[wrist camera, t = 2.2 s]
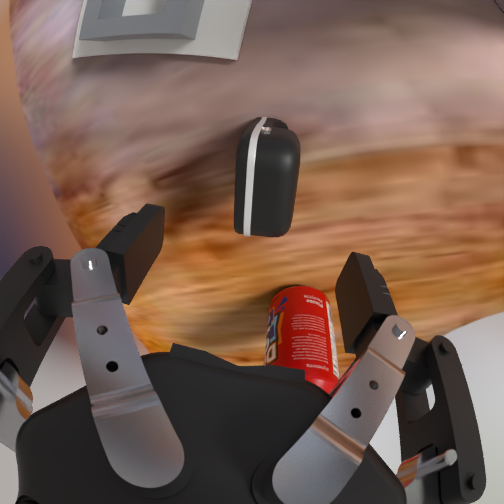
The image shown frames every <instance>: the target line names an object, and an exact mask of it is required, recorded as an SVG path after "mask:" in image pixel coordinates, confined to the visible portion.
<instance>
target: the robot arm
mask: <svg viewBox="0 0 504 504" xmlns="http://www.w3.org/2000/svg"><path fill="white" fill-rule="evenodd" d="M495 1H496V3H497V4H498V5H499V7H500V8H501V9H502V11H503V12H504V0H495ZM164 216H165V209H164V207H162V206H157V205H152V204H145V206H144V207H143V208H142V209H141V210H140V211H139V212H138V213H134V212H133V213H131V214H129V215H127V216H125V217H123V218H122V219H121V220H120V221H119V222H118V223H117V225H115V227H114V228H113V229H112V231H110V232H109V233H108V234H107V235H106V236H105V237H104V239H103V240H102V241H101V242H100V243H99V244H98V245H97V246H96V248H87V249H83V250H81V251H79V252H77V253H76V254H75V255H74V256H73V257H72V259H71V260H62V259H60V260H59V259H54V258H53V255H52V251H51V250H50V249H49V248H48V247H44V246H38V247H34V248H31V249H29V250H28V251H26V252H25V253H24V254H23V255H22V256H21V257H20V258H19V259H18V260H17V262H16V263H15V264H14V265H13V266H12V267H11V269H10V270H9V271H8V272H7V273H6V274H5V275H4V277H3V278H2V279H1V281H0V442H1V443H2V444H4V445H5V446H7V447H8V448H10V449H11V450H13V451H14V452H16V458H17V465H18V474H19V475H18V476H19V492H18V497H17V501H16V503H15V504H470V503H473V502H475V501H477V500H478V499H479V498H480V497H481V496H482V494H483V492H484V490H485V486H486V474H485V465H484V458H483V451H482V445H481V440H480V434H479V429H478V424H477V420H476V416H475V411H474V407H473V403H472V400H471V396H470V392H469V388H468V385H467V381H466V378H465V375H464V372H463V369H462V366H461V362H460V360H459V357H458V354H457V351H456V348H455V347H454V345H453V344H452V343H451V342H450V341H449V340H448V339H447V338H445V337H443V336H440V335H438V336H435V337H434V338H433V339H432V340H431V341H430V342H429V343H428V342H426V341H423V340H421V339H419V338H417V337H416V335H415V331H414V329H413V327H412V326H411V324H410V323H409V322H408V321H407V320H405V319H404V318H402V317H400V316H398V314H397V312H396V309H395V306H394V303H393V301H392V298H391V295H389V294H390V293H389V290H388V288H387V285H386V283H385V280H384V278H383V276H382V275H381V274H380V273H379V272H378V270H377V269H374V266H373V264H372V261H371V259H370V257H369V256H368V255H364V254H360V253H356V252H352V253H351V254H350V255H349V257H348V259H347V261H346V263H345V266H344V268H343V270H342V272H341V274H340V276H339V278H338V280H337V283H336V288H335V294H336V299H337V305H338V311H339V316H340V322H341V328H342V335H343V341H344V348H345V353H353V354H356V358H355V360H354V361H353V362H352V363H351V365H350V366H349V367H348V369H347V370H346V371H345V373H344V374H343V375H342V377H341V378H340V379H339V381H338V382H337V383H336V384H335V386H334V387H333V388H332V389H331V391H330V392H329V393H327V392H326V391H324V390H323V389H322V388H320V387H319V386H317V385H316V384H314V383H312V382H310V381H307V380H305V370H302V369H295V368H289V367H282V366H276V365H266V366H237V365H234V364H232V363H230V362H228V361H225V360H223V359H221V358H219V357H217V356H215V355H212V354H210V353H208V352H206V351H203V350H198V349H194V348H190V347H187V346H183V345H179V344H175V343H173V345H172V348H171V350H170V352H156V353H150V354H147V355H142V356H140V354H139V352H138V349H137V346H136V343H135V341H134V338H133V335H132V332H131V329H130V326H129V323H128V320H127V317H126V314H125V310H124V307H123V304H122V303H124V304H127V305H129V304H130V303H131V301H132V299H133V297H134V295H135V294H136V292H137V290H138V288H139V287H140V285H141V283H142V281H143V280H144V278H145V276H146V275H147V273H148V271H149V269H150V268H151V266H152V264H153V263H154V261H155V259H156V258H157V256H158V254H159V253H160V251H161V248H162V244H163V236H164ZM33 300H34V303H35V304H34V305H33V307H32V308H31V310H30V311H29V313H28V314H27V316H26V317H25V319H24V315H25V312H26V310H27V309H28V307H29V306H30V304H31V303H32V301H33ZM66 317H73V320H74V326H75V333H76V339H77V345H78V350H79V355H80V360H81V365H82V369H83V374H84V378H85V382H86V386H84V387H82V388H80V389H79V390H77V391H75V392H73V393H71V394H69V395H67V396H65V397H63V398H61V399H60V400H58V401H56V402H54V403H52V404H50V405H48V406H46V407H44V408H42V409H40V410H38V411H36V412H35V413H33V414H32V415H31V413H32V411H33V408H32V402H33V396H32V392H31V389H30V386H31V383H32V381H33V379H34V377H35V375H36V373H37V371H38V368H39V366H40V364H41V362H42V360H43V358H44V356H45V354H46V352H47V350H48V348H49V347H50V345H51V343H52V341H53V339H54V337H55V335H56V334H57V332H58V330H59V328H60V326H61V325H62V323H63V321H64V319H65V318H66ZM431 384H432V385H433V389H434V394H435V404H434V406H433V408H432V409H431V410H430V409H429V404H428V398H427V394H426V388H428V387H429V386H430V385H431ZM394 397H395V400H396V407H397V415H398V423H399V434H400V446H401V461H402V463H401V465H400V467H399V469H398V472H397V474H396V475H395V474H394V473H393V472H392V470H391V469H390V468H389V467H388V466H387V465H386V463H385V462H384V461H383V460H382V458H381V457H380V456H379V455H378V454H377V452H376V451H375V450H374V449H373V447H372V446H371V445H370V444H369V442H370V440H371V439H372V437H373V435H374V434H375V432H376V430H377V428H378V427H379V425H380V423H381V422H382V420H383V418H384V416H385V414H386V413H387V411H388V409H389V406H390V405H391V403H392V401H393V399H394Z"/></svg>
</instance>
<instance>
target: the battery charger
mask: <svg viewBox="0 0 504 504" xmlns="http://www.w3.org/2000/svg"><path fill="white" fill-rule="evenodd" d="M299 167H300V142H299V140H298V138H297V136H296V134H295V133H294V132H293V131H291V130H289V129H288V127H287V125H286V124H285V123H284V122H282V121H280V120H277V119H273V118H267V117H257V118H256V119H255V120H254V122H253V123H252V124H250V125H249V126H248V128H247V129H246V130H245V131H244V133H243V134H242V136H241V138H240V140H239V144H238V149H237V158H236V176H235V200H234V229H235V232H236V233H238V234H244V236H251V235H255V236H264V237H280V236H283V235H284V234H286V233H287V232H288V230H289V228H290V226H291V222H292V217H293V211H294V204H295V197H296V189H297V182H298V175H299Z"/></svg>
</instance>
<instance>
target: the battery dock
mask: <svg viewBox="0 0 504 504" xmlns="http://www.w3.org/2000/svg"><path fill="white" fill-rule="evenodd" d="M251 4H252V0H84V1H83V5H82V9H81V13H80V18H79V22H78V27H77V32H76V38H75V44H74V50H73V57H72V58H79V57H88V56H98V55H112V54H138V53H155V54H182V55H195V56H206V57H215V58H223V59H231V60H238V57H239V52H240V48H241V44H242V40H243V35H244V31H245V27H246V23H247V19H248V15H249V11H250V8H251Z"/></svg>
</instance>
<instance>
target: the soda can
mask: <svg viewBox="0 0 504 504" xmlns="http://www.w3.org/2000/svg"><path fill="white" fill-rule="evenodd" d="M266 365H276V366H282V367H289V368H295V369H302V370H305V380H307V381H310V382H312V383H314V384H316V385H317V386H319V387H320V388H322V389H323V390H324V391H326V392H327V393H329V392H330V391H331V389H332V388H333V387H334V386H335V384H336V383H337V382H338V381H339V373H338V363H337V353H336V345H335V336H334V328H333V320H332V313H331V306H330V302H329V300H328V298H327V296H326V295H325V294H324V293H323V292H321V291H320V290H318V289H316V288H313V287H309V286H293V287H289V288H286V289H284V290H282V291H280V292H279V293H277V294H276V295H275V296H274V297H273V299H272V300H271V302H270V306H269V313H268V325H267V336H266V347H265V358H264V366H266Z"/></svg>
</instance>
